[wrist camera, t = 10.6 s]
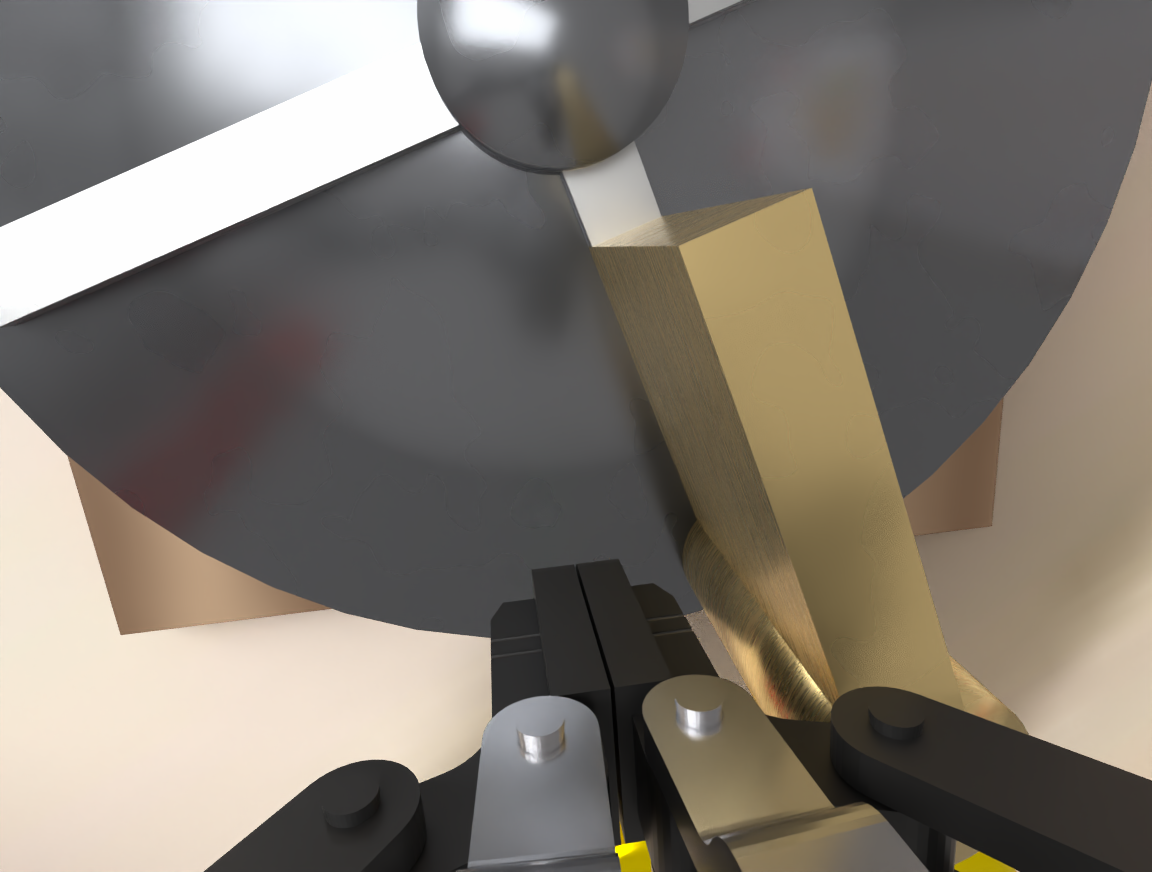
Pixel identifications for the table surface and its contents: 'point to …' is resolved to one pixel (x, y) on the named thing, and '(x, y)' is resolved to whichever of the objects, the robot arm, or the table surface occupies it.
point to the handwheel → (558, 290)
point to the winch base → (221, 594)
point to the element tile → (637, 861)
